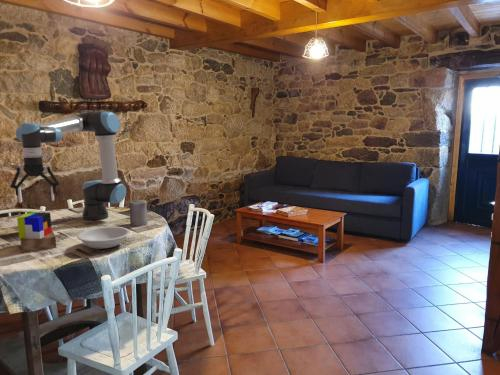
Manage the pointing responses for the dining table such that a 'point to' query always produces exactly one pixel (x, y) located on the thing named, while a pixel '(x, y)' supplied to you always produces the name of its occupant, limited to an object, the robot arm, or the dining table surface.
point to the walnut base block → (38, 243)
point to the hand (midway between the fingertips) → (37, 201)
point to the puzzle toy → (34, 225)
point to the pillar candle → (138, 212)
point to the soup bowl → (103, 237)
